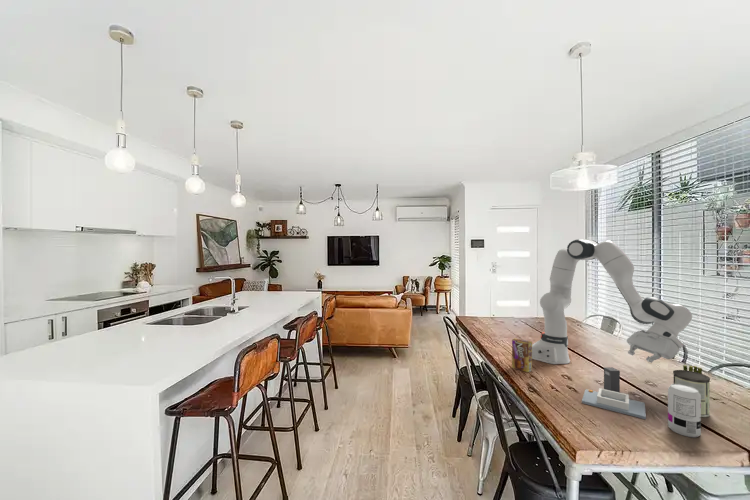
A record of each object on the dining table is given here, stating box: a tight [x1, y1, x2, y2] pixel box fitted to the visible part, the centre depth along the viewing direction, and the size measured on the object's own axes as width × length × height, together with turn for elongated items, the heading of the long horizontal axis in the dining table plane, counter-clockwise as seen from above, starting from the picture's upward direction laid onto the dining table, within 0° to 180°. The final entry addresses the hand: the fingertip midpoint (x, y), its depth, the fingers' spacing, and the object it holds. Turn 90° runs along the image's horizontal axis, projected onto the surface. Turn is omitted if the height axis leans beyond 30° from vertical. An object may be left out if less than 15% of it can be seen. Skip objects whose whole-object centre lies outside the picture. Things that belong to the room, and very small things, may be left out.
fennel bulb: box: [682, 364, 703, 374], centre depth 141 cm, size 6×5×12 cm
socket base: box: [581, 387, 647, 420], centre depth 130 cm, size 20×14×4 cm
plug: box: [603, 366, 621, 393], centre depth 142 cm, size 4×4×10 cm
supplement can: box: [667, 383, 702, 438], centre depth 111 cm, size 8×8×15 cm
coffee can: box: [672, 369, 711, 418], centre depth 125 cm, size 10×10×14 cm
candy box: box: [511, 338, 533, 373], centre depth 168 cm, size 9×4×15 cm, turn 39°
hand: (638, 357), depth 142 cm, fingers open, 8 cm apart
